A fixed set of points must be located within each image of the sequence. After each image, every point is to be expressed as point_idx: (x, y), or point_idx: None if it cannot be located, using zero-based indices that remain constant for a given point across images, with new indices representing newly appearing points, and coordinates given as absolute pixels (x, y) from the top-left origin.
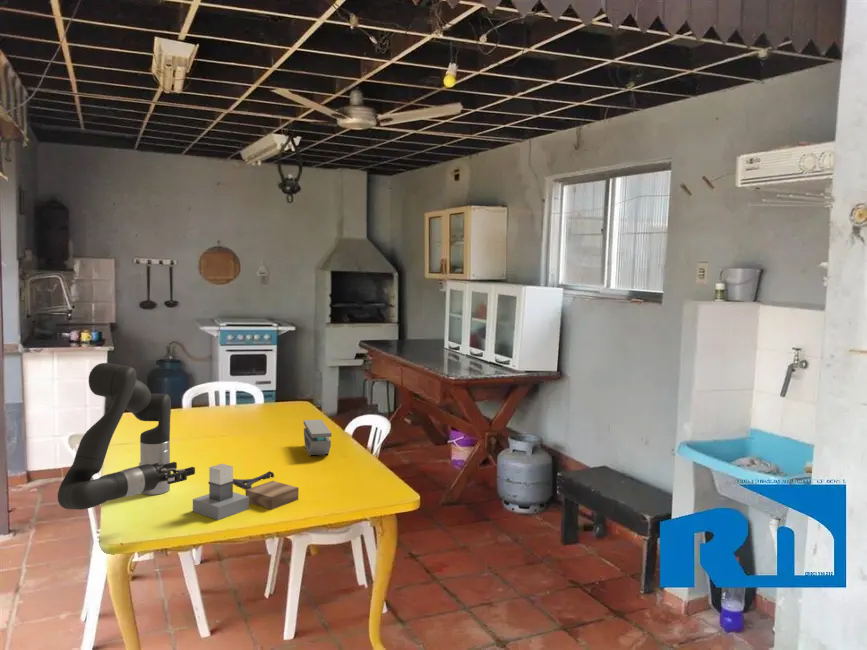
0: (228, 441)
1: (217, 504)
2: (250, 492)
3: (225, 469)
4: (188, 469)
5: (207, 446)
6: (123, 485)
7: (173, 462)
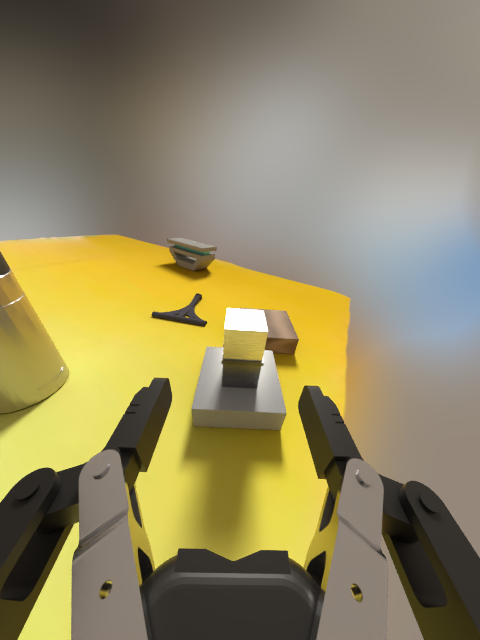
0: (87, 266)
1: (268, 402)
2: None
3: (265, 323)
4: (333, 425)
5: (65, 274)
6: None
7: (156, 388)
